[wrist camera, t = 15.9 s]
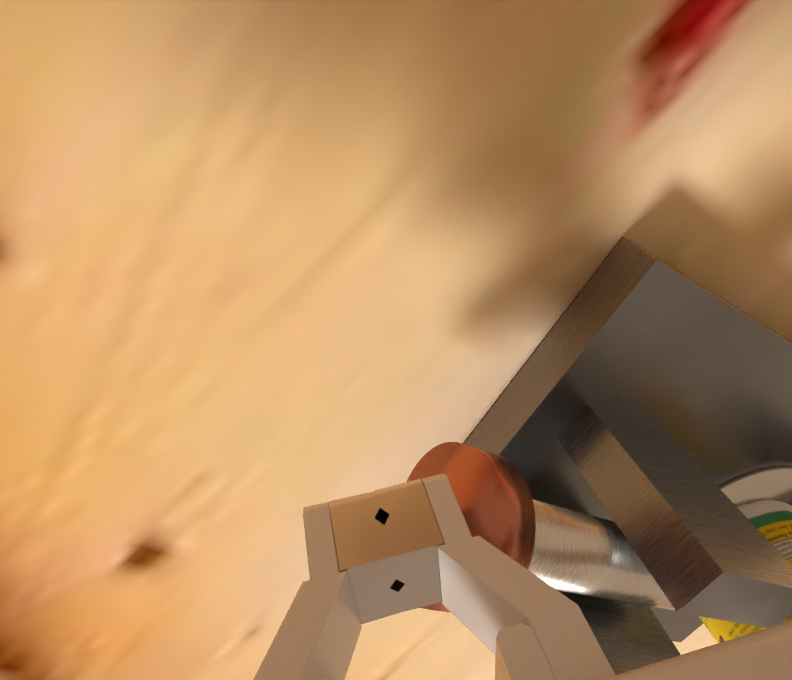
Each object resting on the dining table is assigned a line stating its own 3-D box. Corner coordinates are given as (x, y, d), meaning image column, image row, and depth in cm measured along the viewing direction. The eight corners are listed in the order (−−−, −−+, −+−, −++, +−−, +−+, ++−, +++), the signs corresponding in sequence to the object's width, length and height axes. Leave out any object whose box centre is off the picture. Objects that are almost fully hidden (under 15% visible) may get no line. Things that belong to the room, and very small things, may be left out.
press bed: (370, 564, 20) (427, 820, 14) (622, 237, 15) (887, 418, 9) (661, 612, 28) (780, 792, 22) (895, 406, 22) (1139, 567, 16)
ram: (381, 511, 15) (417, 646, 12) (456, 411, 13) (517, 534, 10) (681, 576, 20) (754, 677, 17) (753, 511, 19) (846, 609, 16)
